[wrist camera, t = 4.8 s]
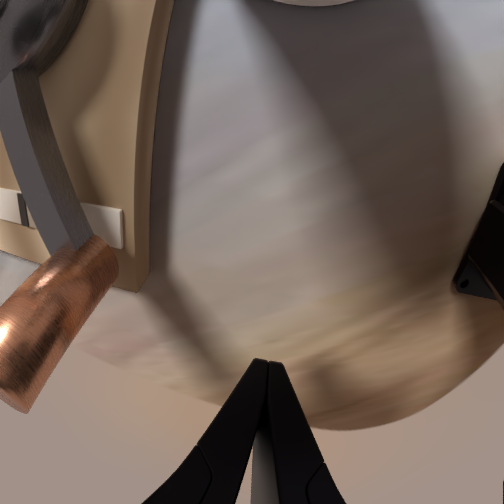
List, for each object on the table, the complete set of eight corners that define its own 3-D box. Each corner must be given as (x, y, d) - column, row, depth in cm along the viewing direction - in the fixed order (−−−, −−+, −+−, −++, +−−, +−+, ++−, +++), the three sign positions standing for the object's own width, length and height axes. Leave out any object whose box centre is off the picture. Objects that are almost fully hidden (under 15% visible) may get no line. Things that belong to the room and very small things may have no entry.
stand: (198, -83, 5) (184, -102, 4) (149, 273, 14) (134, 296, 12) (-11, -17, 5) (-32, -18, 4) (-17, 226, 14) (-34, 239, 12)
